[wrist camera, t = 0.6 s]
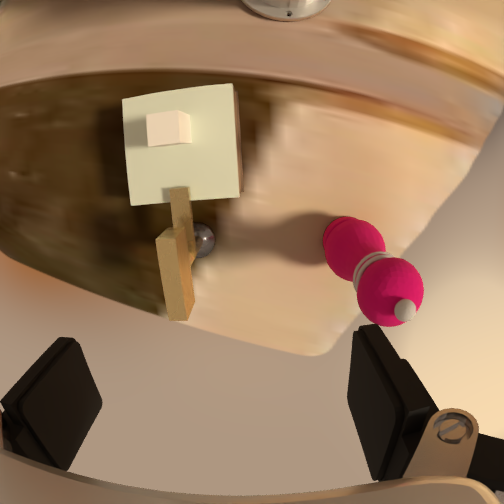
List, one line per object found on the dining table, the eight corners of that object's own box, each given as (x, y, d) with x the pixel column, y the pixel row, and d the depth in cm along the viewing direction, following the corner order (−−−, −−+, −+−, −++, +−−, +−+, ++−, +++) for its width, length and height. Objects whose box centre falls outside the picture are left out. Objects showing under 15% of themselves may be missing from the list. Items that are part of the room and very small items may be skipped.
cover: (126, 100, 30) (101, 93, 25) (232, 85, 30) (227, 72, 24) (134, 203, 34) (112, 215, 28) (239, 195, 34) (235, 205, 28)
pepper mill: (315, 264, 41) (356, 356, 22) (321, 210, 39) (376, 268, 20) (366, 267, 41) (433, 352, 22) (374, 215, 39) (458, 272, 20)
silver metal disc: (180, 223, 40) (178, 225, 39) (213, 221, 40) (212, 223, 39) (183, 256, 41) (182, 258, 40) (216, 254, 41) (215, 257, 40)
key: (182, 182, 37) (149, 199, 25) (199, 181, 37) (171, 197, 25) (192, 271, 41) (168, 320, 29) (207, 271, 41) (188, 320, 29)
